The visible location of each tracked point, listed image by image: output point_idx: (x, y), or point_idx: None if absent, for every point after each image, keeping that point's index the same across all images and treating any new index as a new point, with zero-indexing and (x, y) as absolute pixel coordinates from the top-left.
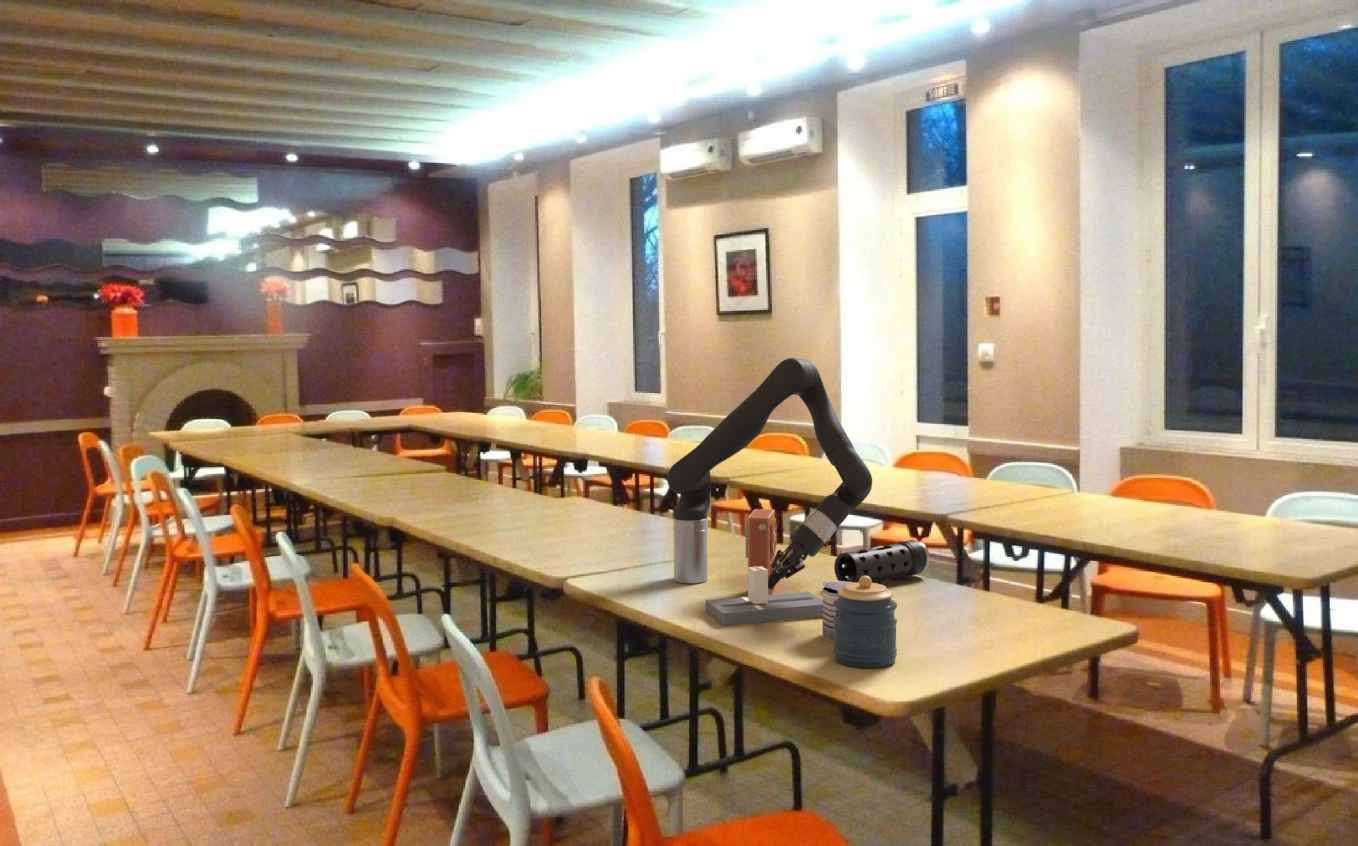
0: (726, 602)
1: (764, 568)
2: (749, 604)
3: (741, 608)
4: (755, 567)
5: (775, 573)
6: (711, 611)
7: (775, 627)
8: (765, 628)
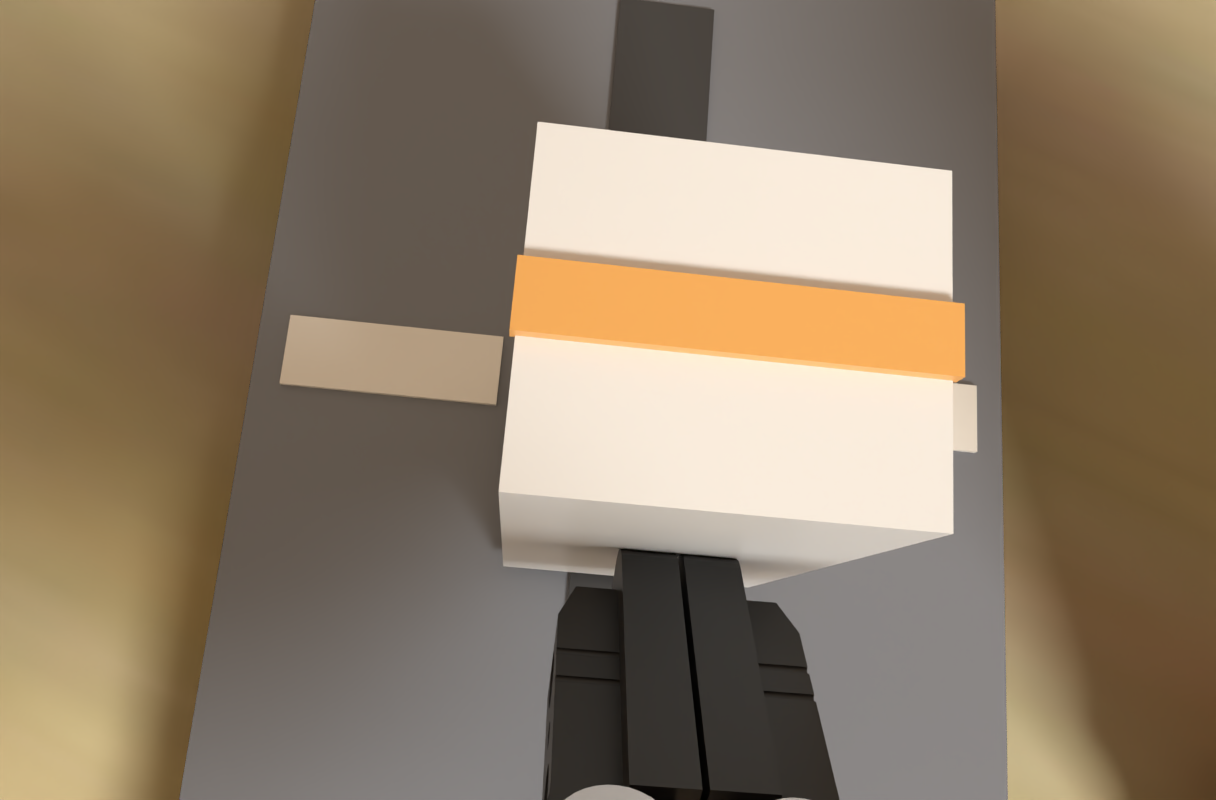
0: (804, 118)
1: (693, 485)
2: None
3: (451, 147)
4: (829, 291)
5: (625, 795)
6: None
7: (28, 438)
8: (54, 314)
